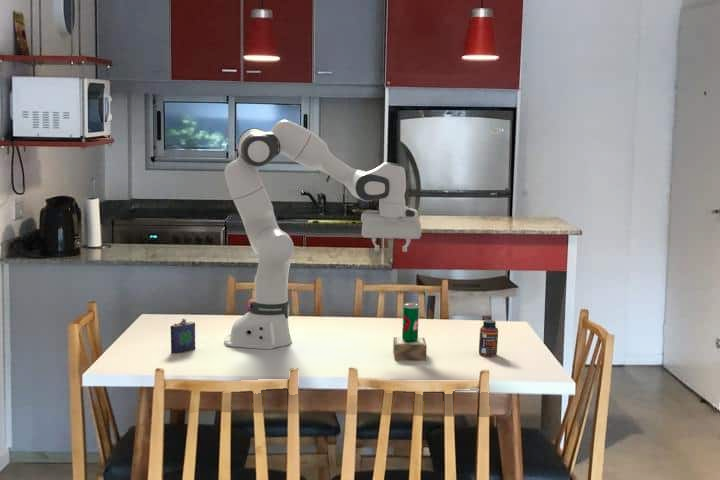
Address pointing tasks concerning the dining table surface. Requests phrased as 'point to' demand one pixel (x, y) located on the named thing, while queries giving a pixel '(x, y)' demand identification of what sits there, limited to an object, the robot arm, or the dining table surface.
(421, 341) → the base block
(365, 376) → the dining table surface
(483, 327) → the supplement bottle
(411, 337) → the soda can
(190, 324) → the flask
